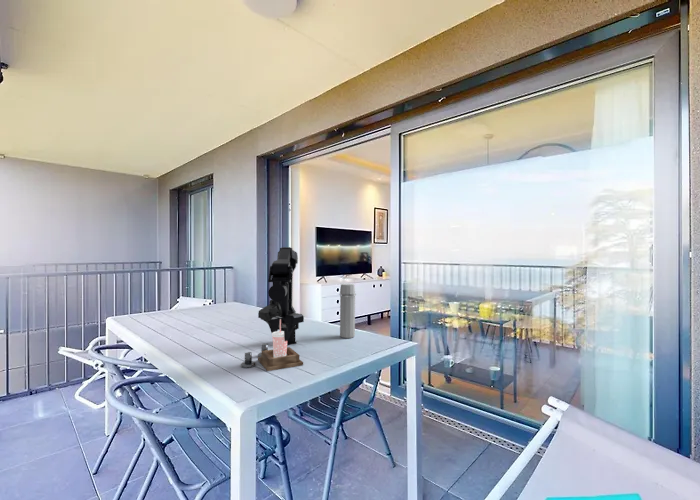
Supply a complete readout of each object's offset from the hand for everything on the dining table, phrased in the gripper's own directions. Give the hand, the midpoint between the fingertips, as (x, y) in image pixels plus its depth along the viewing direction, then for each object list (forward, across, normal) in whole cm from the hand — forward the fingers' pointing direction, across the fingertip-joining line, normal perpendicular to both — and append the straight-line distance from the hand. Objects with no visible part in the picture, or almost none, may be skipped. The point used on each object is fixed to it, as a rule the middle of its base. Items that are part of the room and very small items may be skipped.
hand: (280, 339), depth 123 cm
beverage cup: (+7, 0, 0) cm, 7 cm away
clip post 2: (+8, -10, +1) cm, 13 cm away
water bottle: (+9, -2, +44) cm, 45 cm away
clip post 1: (+8, -6, -9) cm, 14 cm away
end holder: (+8, 0, 0) cm, 8 cm away
